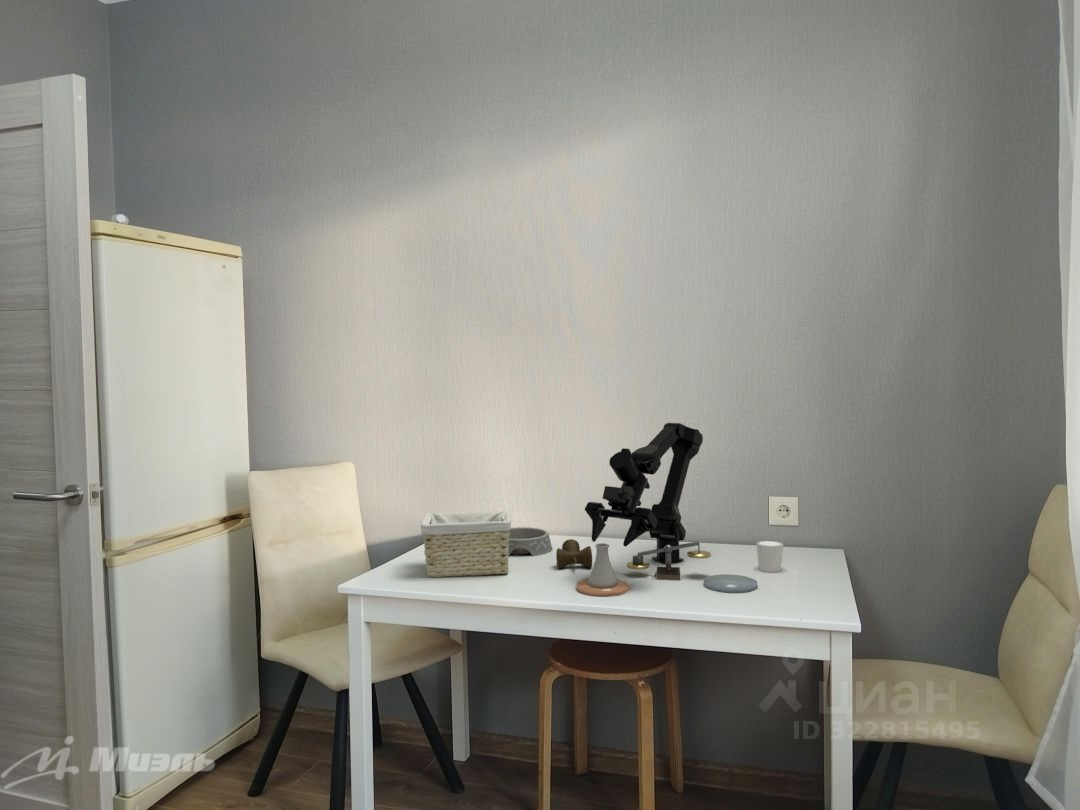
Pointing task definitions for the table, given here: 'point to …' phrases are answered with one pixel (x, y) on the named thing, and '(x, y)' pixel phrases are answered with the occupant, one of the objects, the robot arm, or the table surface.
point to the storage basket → (466, 543)
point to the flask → (602, 569)
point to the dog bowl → (529, 541)
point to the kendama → (573, 554)
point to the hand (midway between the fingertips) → (608, 543)
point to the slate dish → (730, 583)
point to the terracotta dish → (596, 591)
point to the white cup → (769, 555)
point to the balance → (667, 560)
